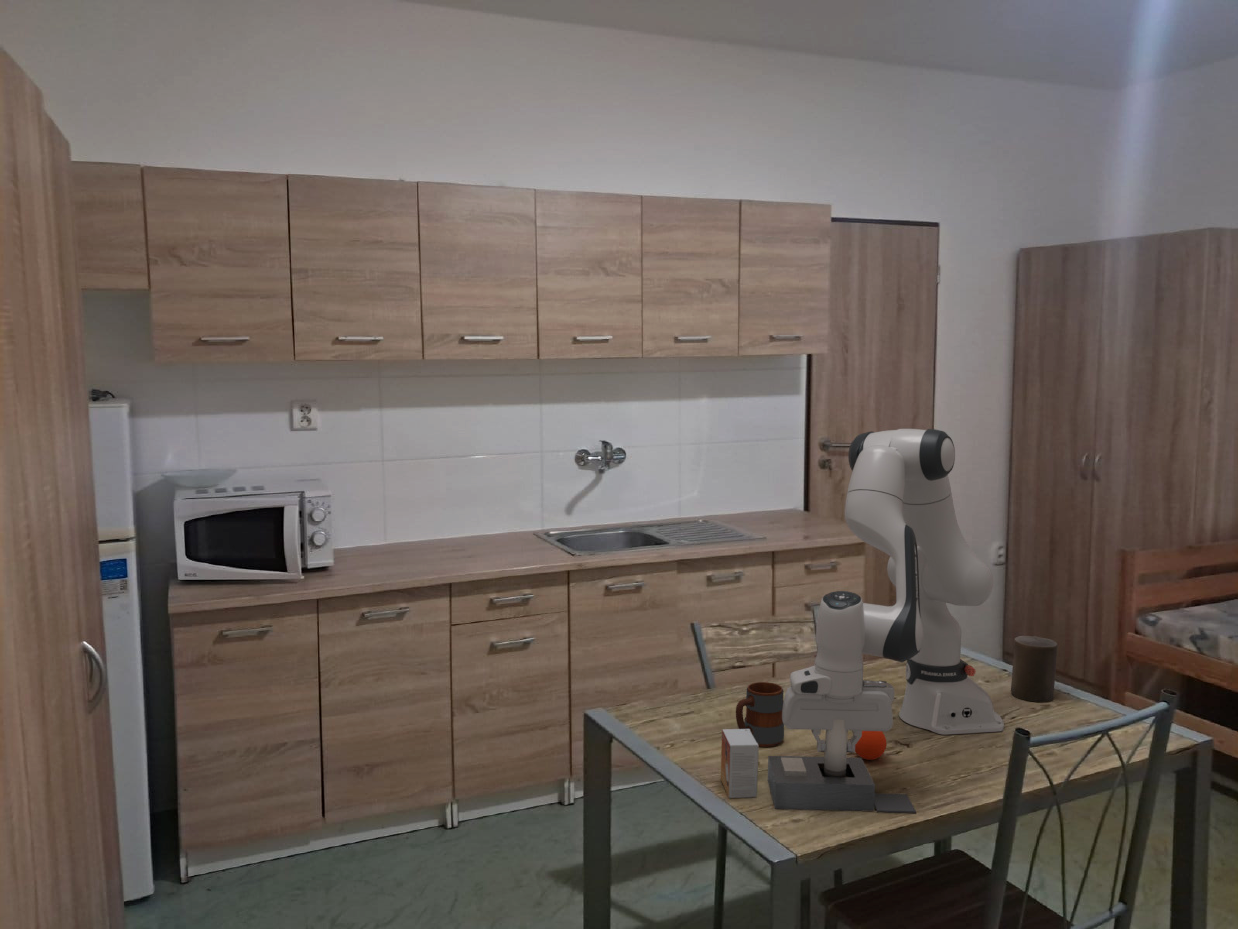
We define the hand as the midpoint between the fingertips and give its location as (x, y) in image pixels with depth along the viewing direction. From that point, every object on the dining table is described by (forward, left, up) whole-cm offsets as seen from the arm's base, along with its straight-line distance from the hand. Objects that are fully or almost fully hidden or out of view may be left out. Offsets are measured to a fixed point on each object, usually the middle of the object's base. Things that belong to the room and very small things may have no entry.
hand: (835, 751), depth 188 cm
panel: (+3, 0, -9) cm, 9 cm away
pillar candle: (-58, -57, -9) cm, 82 cm away
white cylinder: (0, 0, -5) cm, 5 cm away
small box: (+18, -2, -9) cm, 20 cm away
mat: (-10, +3, -9) cm, 14 cm away
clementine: (-10, -18, -9) cm, 23 cm away
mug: (+12, -25, -9) cm, 29 cm away
